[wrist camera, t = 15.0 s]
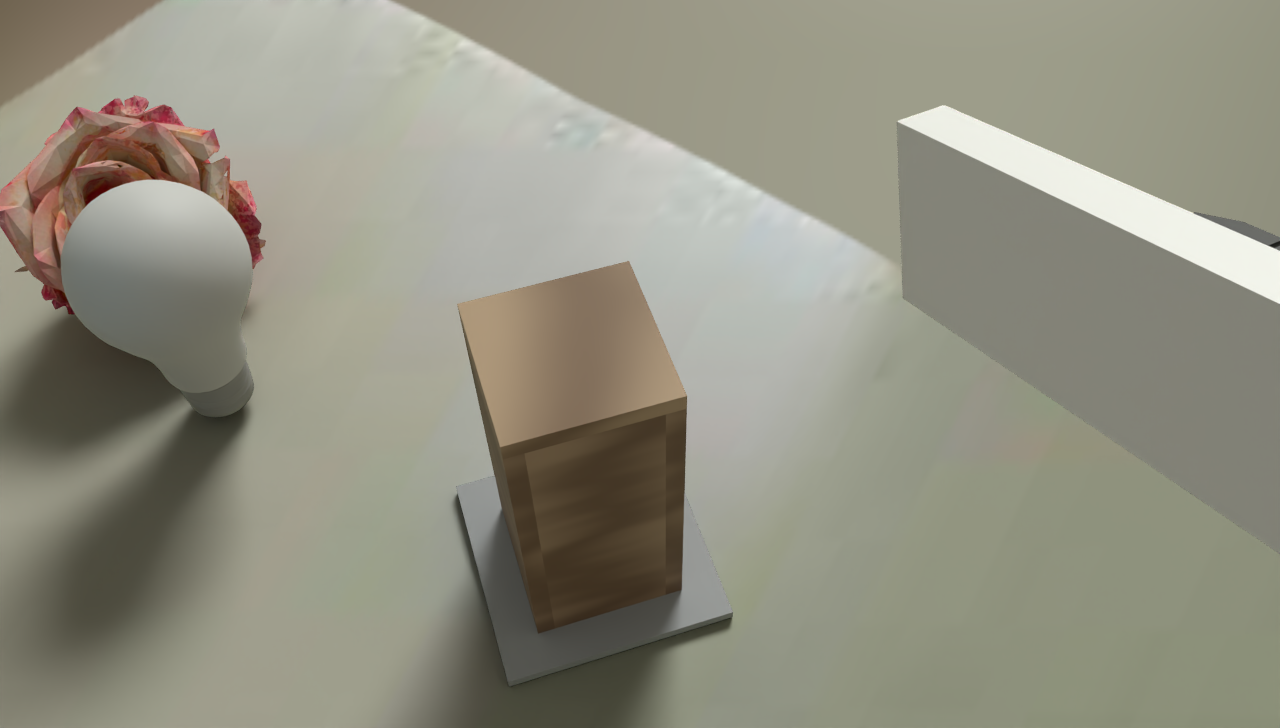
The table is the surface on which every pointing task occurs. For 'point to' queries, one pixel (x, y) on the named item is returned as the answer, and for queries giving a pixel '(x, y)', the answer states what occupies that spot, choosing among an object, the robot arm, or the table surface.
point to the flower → (111, 179)
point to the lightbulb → (166, 286)
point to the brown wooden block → (582, 440)
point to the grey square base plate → (592, 636)
